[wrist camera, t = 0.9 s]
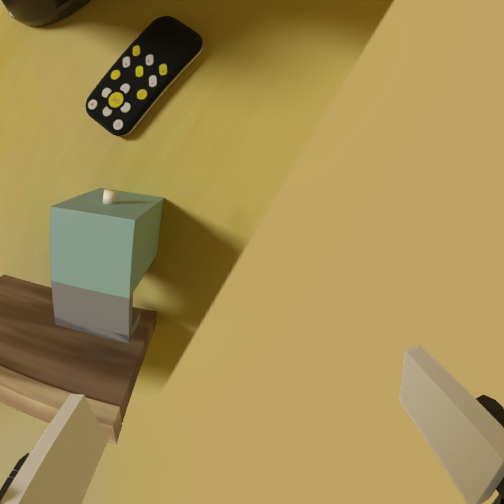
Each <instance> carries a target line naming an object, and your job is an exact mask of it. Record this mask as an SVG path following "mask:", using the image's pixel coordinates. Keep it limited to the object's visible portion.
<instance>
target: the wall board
mask: <svg viewBox="0 0 504 504" xmlns="http://www.w3.org/2000/svg"><path fill="white" fill-rule="evenodd" d="M132 310H135V311H140V320H139V322H138V324H137V327H136V329H135V331H134V333H133V335H132V337H131V339H130V342H129V343H125V342H120V341H116V340H112V339H107V338H103V337H99V336H95V335H91V334H88V333H84V332H80V331H76V330H73V329H69V328H66V327H62V326H59V325H55V317H54V308H53V297H52V288H49V287H45V286H42V285H38V284H34V283H31V282H27V281H24V280H20V279H17V278H14V277H10V276H7V275H3V276H1V277H0V402H2V403H4V404H6V405H8V406H10V407H13V408H15V409H17V410H19V411H21V412H23V413H26V414H28V415H30V416H33V417H35V418H38V419H40V420H42V421H45V422H48V423H51V421H52V420H53V418H54V417H55V415H56V414H57V412H58V411H59V409H60V408H61V407H62V405H63V404H64V402H65V401H66V399H67V398H68V397H69V395H70V394H84V395H85V397H86V399H87V401H88V403H89V405H90V407H91V409H92V411H93V413H94V415H95V417H96V419H97V421H98V422H99V424H100V426H101V428H102V430H103V431H104V433H105V435H106V437H107V438H108V443H112V444H117V441H118V437H119V434H120V431H121V427H122V422H123V418H124V416H125V412H126V409H127V406H128V403H129V400H130V397H131V394H132V391H133V388H134V385H135V382H136V379H137V376H138V373H139V370H140V368H141V365H142V362H143V359H144V356H145V353H146V351H147V348H148V345H149V342H150V340H151V337H152V334H153V331H154V329H155V323H156V312H154V311H149V310H144V309H139V308H134V307H132Z"/></svg>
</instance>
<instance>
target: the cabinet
mask: <svg viewBox="0 0 504 504" xmlns="http://www.w3.org/2000/svg"><path fill="white" fill-rule="evenodd" d="M163 202H164V198H162V197H156V196H150V195H143V194H137V193H130V192H123V191H116V190H109V189H102V188H100V189H97V190H94V191H91V192H88V193H85V194H82V195H80V196H77V197H74V198H72V199H69V200H66V201H64V202H61V203H58V204H56V205H53V206H51V212H50V264H51V284H52V297H53V308H54V317H55V325H59V326H62V327H66V328H69V329H73V330H76V331H80V332H84V333H88V334H91V335H95V336H99V337H103V338H107V339H112V340H116V341H120V342H125V343H129V342H130V339H131V337H132V335H133V333H134V331H135V329H136V327H137V324H138V322H139V320H140V311H135V310H132V303H133V292H134V290H135V289H136V287H137V285H138V284H139V282H140V281H141V279H142V277H143V276H144V274H145V273H146V271H147V270H148V268H149V266H150V265H151V263H152V262H153V260H154V259H155V257H156V256H157V249H158V241H159V232H160V224H161V217H162V209H163Z"/></svg>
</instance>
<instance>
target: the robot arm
mask: <svg viewBox="0 0 504 504" xmlns="http://www.w3.org/2000/svg"><path fill="white" fill-rule="evenodd" d="M88 1H89V0H2V2H3V3H4V5H5V6H6V8H7V10H8V12H9V14H10V15H11V16H12V17H13V18H14V19H15V20H17V21H19V22H21V23H23V24H25V25H28V26H34V27H37V26H44V25H48V24H51V23H54V22H57V21H59V20H61V19H63V18H65V17H67V16H69V15H70V14H72V13H73V12H75V11H76V10H78V9H79V8H81V7H82V6H83V5H85V4H86V3H87V2H88ZM399 403H400V404H401V405H402V407H403V408H404V410H405V411H406V413H407V414H408V415H409V417H410V418H411V420H412V421H413V423H414V424H415V425H416V427H417V428H418V430H419V431H420V433H421V434H422V436H423V437H424V439H425V440H426V441H427V443H428V445H429V446H430V447H431V449H432V451H433V452H434V453H435V455H436V456H437V458H438V459H439V461H440V462H441V464H442V465H443V467H444V468H445V470H446V471H447V473H448V475H449V476H450V478H451V479H452V481H453V482H454V484H455V485H456V487H457V488H458V490H459V491H460V493H461V494H462V496H463V498H464V499H465V501H466V502H467V504H481V503H483V502H485V501H486V500H488V499H489V498H490V497H491V495H492V494H493V493H494V491H495V490H497V491H498V492H499V495H498V497H497V498H496V499H495V501H494V502H493V503H492V504H504V409H503V407H502V406H501V405H500V404H499V403H498V402H497V401H496V400H494V399H492V398H490V397H488V396H485V395H482V396H480V397H478V398H476V399H475V398H474V397H473V396H472V395H471V394H470V393H469V392H468V391H467V390H466V389H465V388H464V387H463V386H462V385H461V384H460V383H459V382H458V381H457V380H456V379H455V378H454V377H453V376H452V375H451V374H450V373H449V372H448V371H447V370H446V369H445V368H444V367H443V366H442V365H441V364H440V363H439V362H437V361H436V360H435V359H434V358H433V357H432V356H431V355H430V354H429V353H428V352H427V351H426V350H425V349H424V348H423V347H422V346H421V345H420V346H417V347H414V348H411V349H408V350H405V352H404V363H403V373H402V382H401V391H400V398H399ZM107 442H108V438H107V437H106V435H105V433H104V431H103V430H102V428H101V426H100V424H99V422H98V421H97V419H96V417H95V415H94V413H93V411H92V409H91V407H90V405H89V403H88V401H87V399H86V397H85V395H84V394H70V395H69V397H68V398H67V399H66V401H65V402H64V404H63V405H62V407H61V408H60V409H59V411H58V412H57V414H56V415H55V417H54V418H53V420H52V421H51V423H50V424H49V426H48V427H47V428H46V430H45V432H44V433H43V435H42V436H41V437H40V439H39V441H38V442H37V444H36V445H35V447H34V448H33V450H32V451H31V453H30V454H29V453H27V454H26V455H25V456H24V457H22V458H21V459H20V460H19V461H18V463H17V464H16V466H15V467H14V471H12V472H11V474H10V475H9V476H10V477H8V478H7V480H6V482H5V483H4V485H3V486H2V488H1V490H0V504H82V501H83V499H84V496H85V494H86V491H87V489H88V486H89V484H90V482H91V479H92V477H93V474H94V472H95V470H96V467H97V465H98V463H99V460H100V458H101V455H102V453H103V451H104V448H105V447H106V444H107Z"/></svg>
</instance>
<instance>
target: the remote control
mask: <svg viewBox="0 0 504 504" xmlns="http://www.w3.org/2000/svg"><path fill="white" fill-rule="evenodd" d="M202 49H203V41H202V38H201V37H200V35H199V34H197V33H196V32H195V31H193V30H192V29H190V28H189V27H187V26H186V25H184V24H182V23H181V22H179V21H178V20H176V19H175V18H173V17H169V16H163V17H159V18H157V19H156V20H154V21H153V22H152V23H151V24H150V25H149V26H148V27H147V28H146V29H145V30H144V31H143V32H142V33H141V34H140V35H139V37H138V38H137V39H136V40H135V41H134V42H133V43H132V44H131V45H130V46H129V47H128V49H127V50H126V51H125V52H124V53H123V54H122V55H121V57H120V58H119V59H118V60H117V61H116V62H115V64H114V65H113V66H112V67H111V68H110V70H109V71H108V72H107V73H106V75H105V76H104V77H103V78H102V80H101V81H100V82H99V84H98V85H97V86H96V88H95V89H94V90H93V92H92V93H91V94H90V96H89V97H88V99H87V102H86V111H87V113H88V115H89V116H90V117H92V118H93V119H94V120H95V121H97V122H98V123H99V124H100V125H101V126H103V127H104V128H105V129H106V130H108V131H109V132H110V133H112V134H113V135H116V136H125V135H128V134H130V133H131V132H132V131H133V130H134V129H135V128H136V127H137V125H138V124H139V123H140V121H141V120H142V119H143V118H144V116H145V115H146V114H147V113H148V111H149V110H150V109H151V108H152V107H153V105H154V104H155V103H156V102H157V101H158V99H159V98H160V97H161V96H162V95H163V94H164V92H165V91H166V90H167V89H168V88H169V87H170V86H171V84H172V83H173V82H174V81H175V80H176V79H177V78H178V77H179V76H180V75H181V73H182V72H183V71H184V70H185V69H186V68H187V67H188V66H189V65H190V64H191V63H192V62H193V61H194V60H195V59H196V58H197V57H198V56H199V54H200V53H201V52H202Z"/></svg>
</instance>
